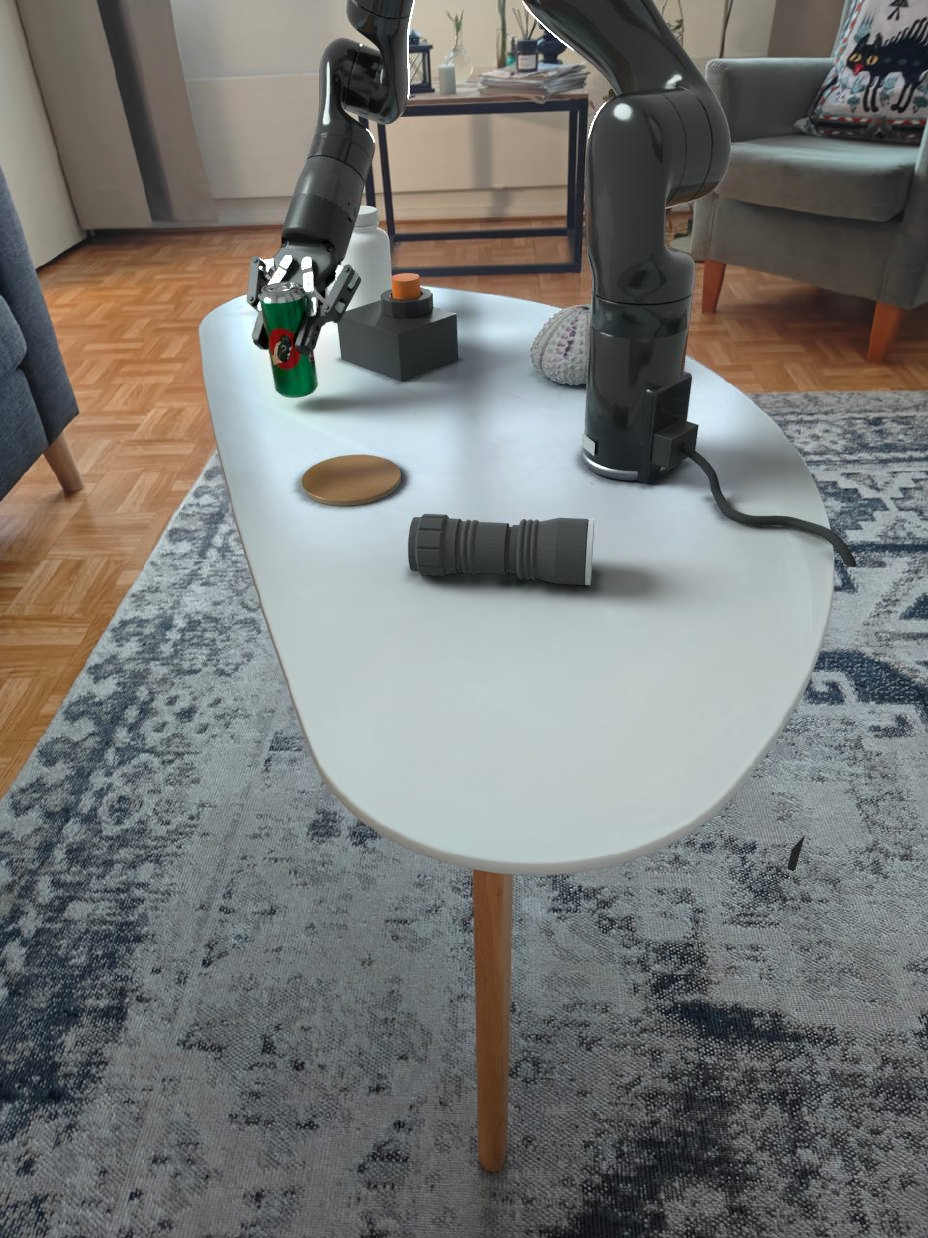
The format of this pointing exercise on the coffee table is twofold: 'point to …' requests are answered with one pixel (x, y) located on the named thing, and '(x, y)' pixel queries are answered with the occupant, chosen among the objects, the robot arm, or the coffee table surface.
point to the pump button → (406, 286)
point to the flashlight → (503, 548)
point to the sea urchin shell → (564, 346)
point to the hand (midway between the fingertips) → (280, 349)
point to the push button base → (399, 336)
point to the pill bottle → (369, 258)
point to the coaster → (351, 480)
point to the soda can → (287, 339)
